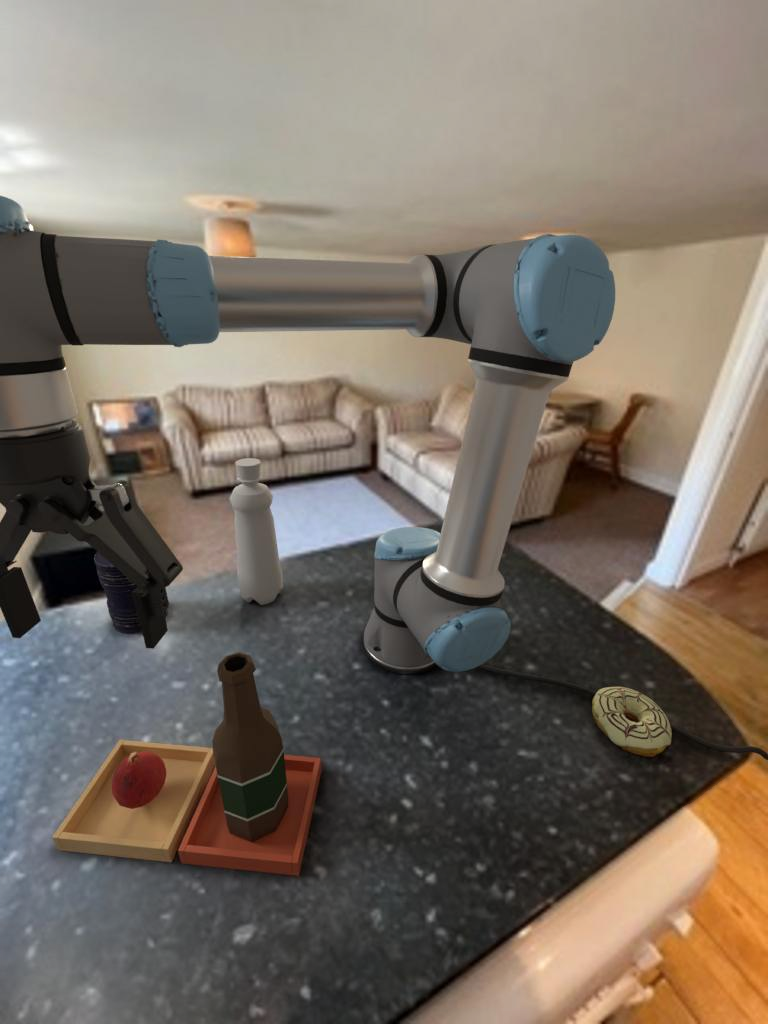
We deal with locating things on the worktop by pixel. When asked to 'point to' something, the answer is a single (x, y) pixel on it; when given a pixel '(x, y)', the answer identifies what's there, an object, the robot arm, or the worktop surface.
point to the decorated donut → (637, 736)
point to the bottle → (255, 536)
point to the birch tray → (146, 828)
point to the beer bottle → (248, 755)
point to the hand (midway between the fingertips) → (91, 634)
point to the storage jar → (119, 596)
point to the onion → (138, 779)
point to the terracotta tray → (267, 854)
